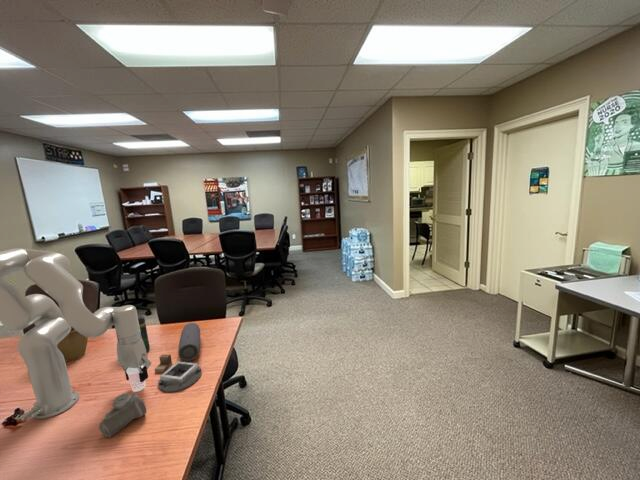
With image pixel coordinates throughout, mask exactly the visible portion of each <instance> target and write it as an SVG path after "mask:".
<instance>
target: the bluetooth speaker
mask: <svg viewBox="0 0 640 480" xmlns="http://www.w3.org/2000/svg"><path fill="white" fill-rule="evenodd" d="M201 338H202V337H201V328H200V326H199V324H197V323H196V322H189V323H187V324H185V325H184V327H182V330H181V334H180V337H179V343H178V349H177V351H178V352H177V353H178V358H179V359H180V360H181V361H182V362H190V361H193V360H194V359H196V358H197V356H198V355H199V352H200V346H201Z"/></svg>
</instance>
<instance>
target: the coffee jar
mask: <svg viewBox="0 0 640 480" xmlns="http://www.w3.org/2000/svg"><path fill="white" fill-rule="evenodd" d="M137 316H138V321H139V327H140V332H141V337H142V338H141V339H142V340H143V342H144V345H145V348H146V352H147V353H148V351H150V349H151V348H150V341H149V336H148V329H147V324H146V319H145V317H144V316H143V315H141V314H138V313H137Z"/></svg>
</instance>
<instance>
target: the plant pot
mask: <svg viewBox="0 0 640 480" xmlns="http://www.w3.org/2000/svg"><path fill="white" fill-rule="evenodd" d="M88 338H89V337H86V336H84V335H82V334H80V333H79V332H77V331H76V330H75V329H74V328H72V327H71V331H70V333H69V334H68V335H67V336H66V337H65V338H64V339H63V340H62V341H60V342H59V343H58V344H57V348H58V349H59V350H60V351H61V353H62V354H63V356H64V359H65V362H72V361H76V360H78V359H80V358H82V357H83V356H84V355H85V354H86V351H87V347H88V340H89V339H88Z"/></svg>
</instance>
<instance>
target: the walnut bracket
mask: <svg viewBox="0 0 640 480" xmlns="http://www.w3.org/2000/svg"><path fill="white" fill-rule="evenodd" d="M159 362H160V363H159V364H158V365H157V366H156V367H155V368H154V373H155V374H163V373H165V372H166V371H167V370H168V369H169V368H171V367H172V366H173V362H172V355H171V354H161V355H160V356H159Z"/></svg>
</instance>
